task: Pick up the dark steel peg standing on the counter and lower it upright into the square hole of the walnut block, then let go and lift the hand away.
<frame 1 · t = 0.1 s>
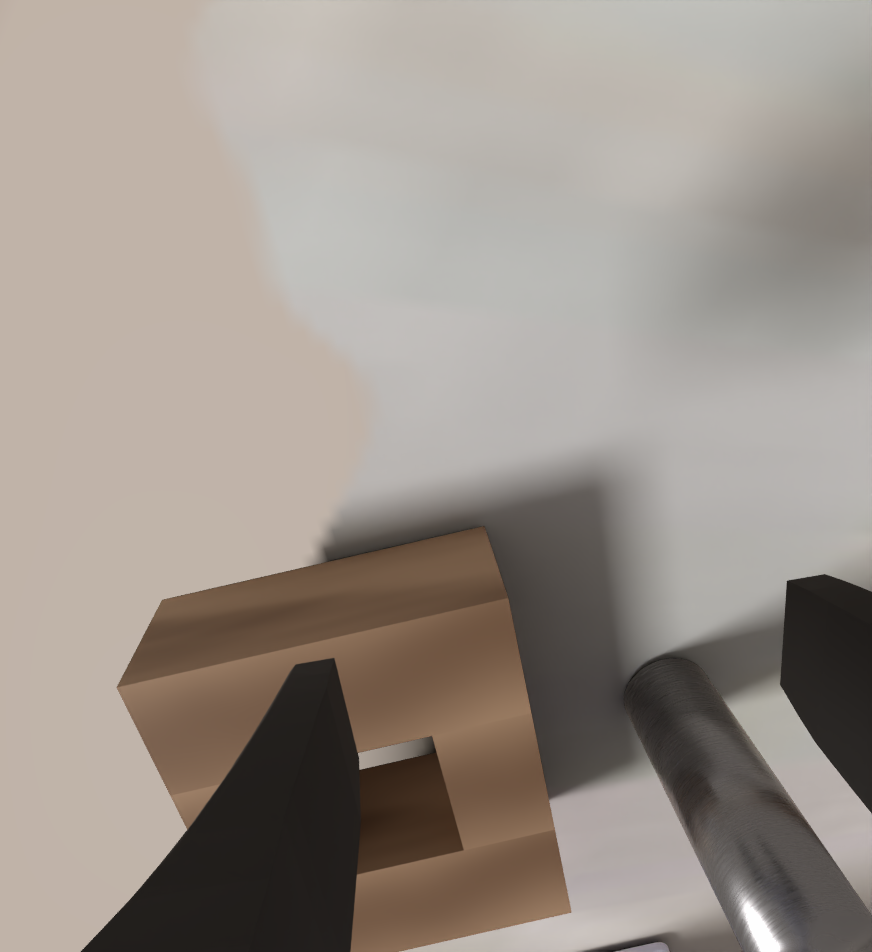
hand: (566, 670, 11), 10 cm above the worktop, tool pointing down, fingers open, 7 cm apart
peg: (666, 693, 24), on the worktop
hole block: (371, 714, 23), on the worktop
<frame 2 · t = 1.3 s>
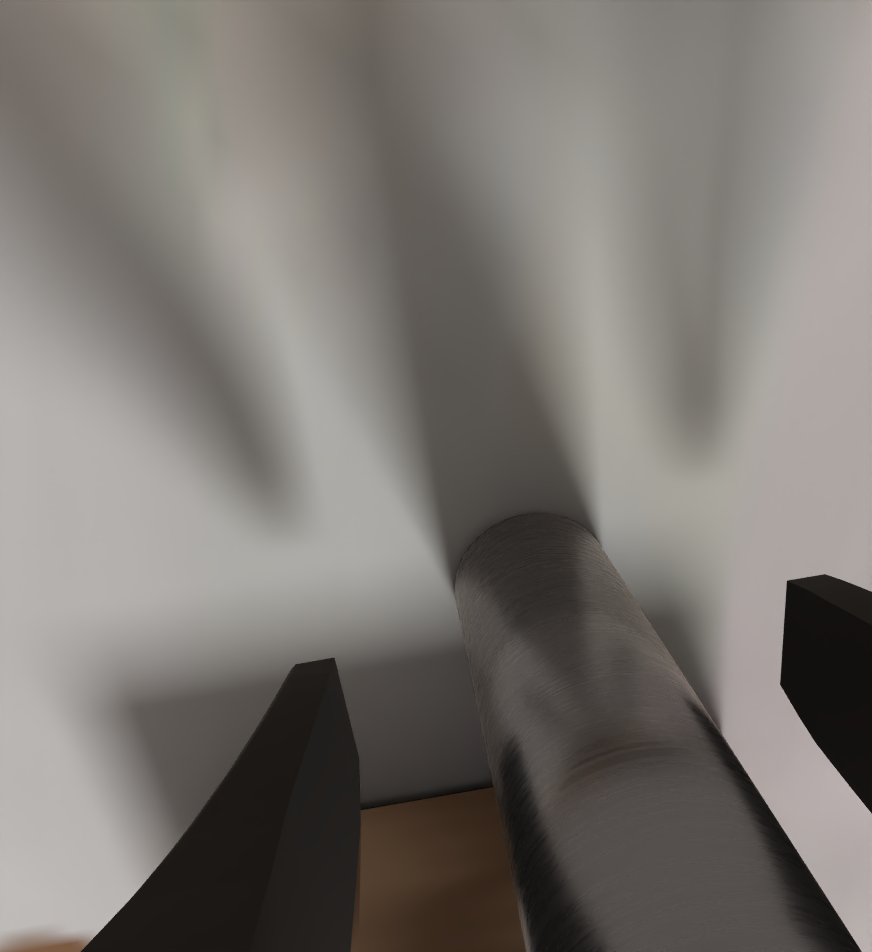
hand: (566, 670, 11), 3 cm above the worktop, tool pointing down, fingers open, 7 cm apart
peg: (531, 583, 13), on the worktop
hole block: (488, 940, 17), on the worktop
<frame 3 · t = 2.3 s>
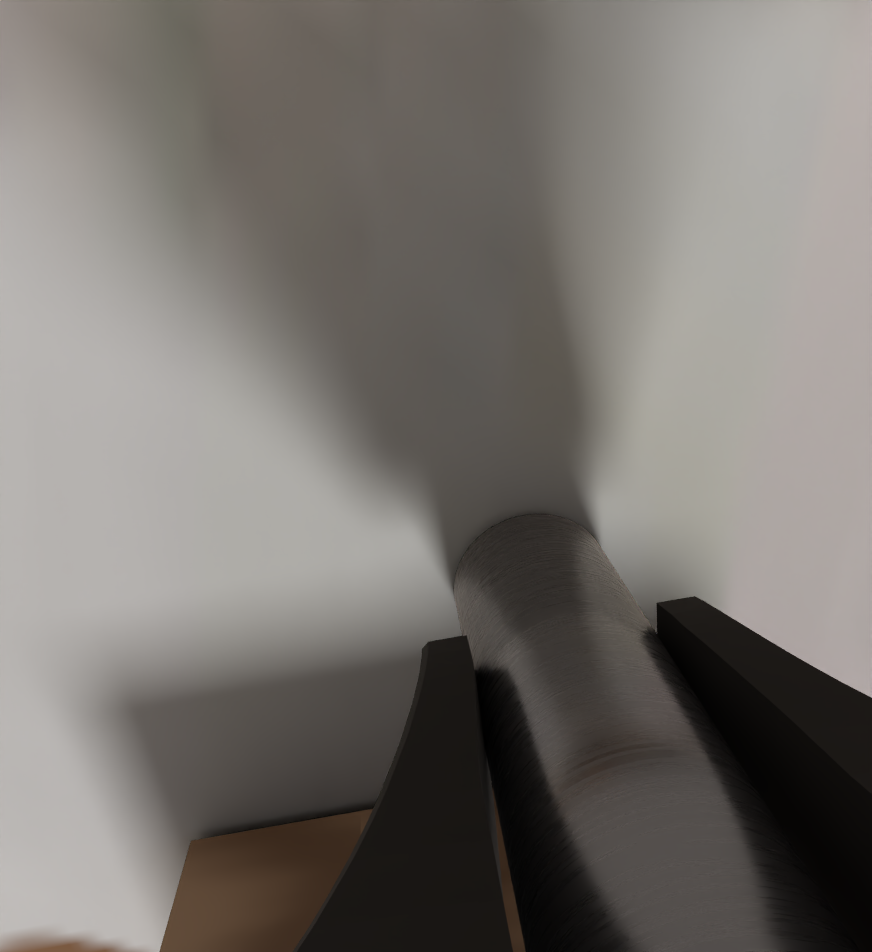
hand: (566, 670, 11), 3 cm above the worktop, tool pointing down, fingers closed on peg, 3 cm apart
peg: (531, 584, 13), on the worktop, touching gripper
hole block: (487, 941, 17), on the worktop
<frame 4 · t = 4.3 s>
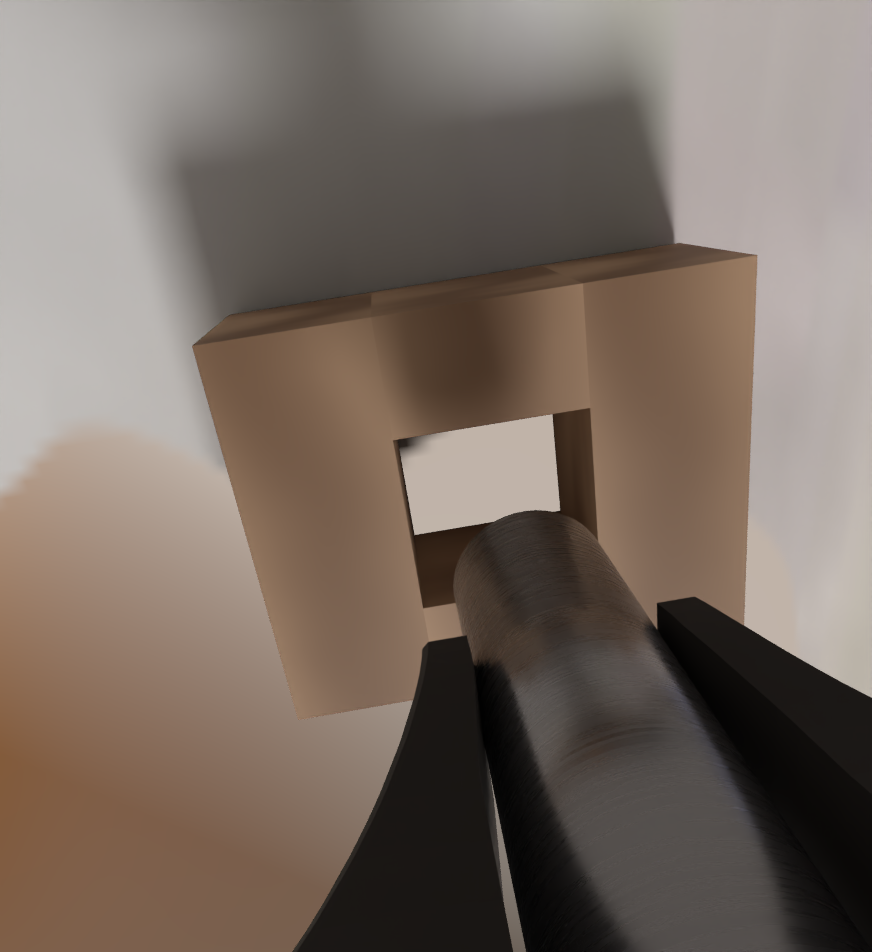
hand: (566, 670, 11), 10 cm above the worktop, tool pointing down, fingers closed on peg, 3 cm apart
peg: (530, 581, 13), point 7 cm above the worktop, touching gripper
hole block: (478, 454, 20), on the worktop
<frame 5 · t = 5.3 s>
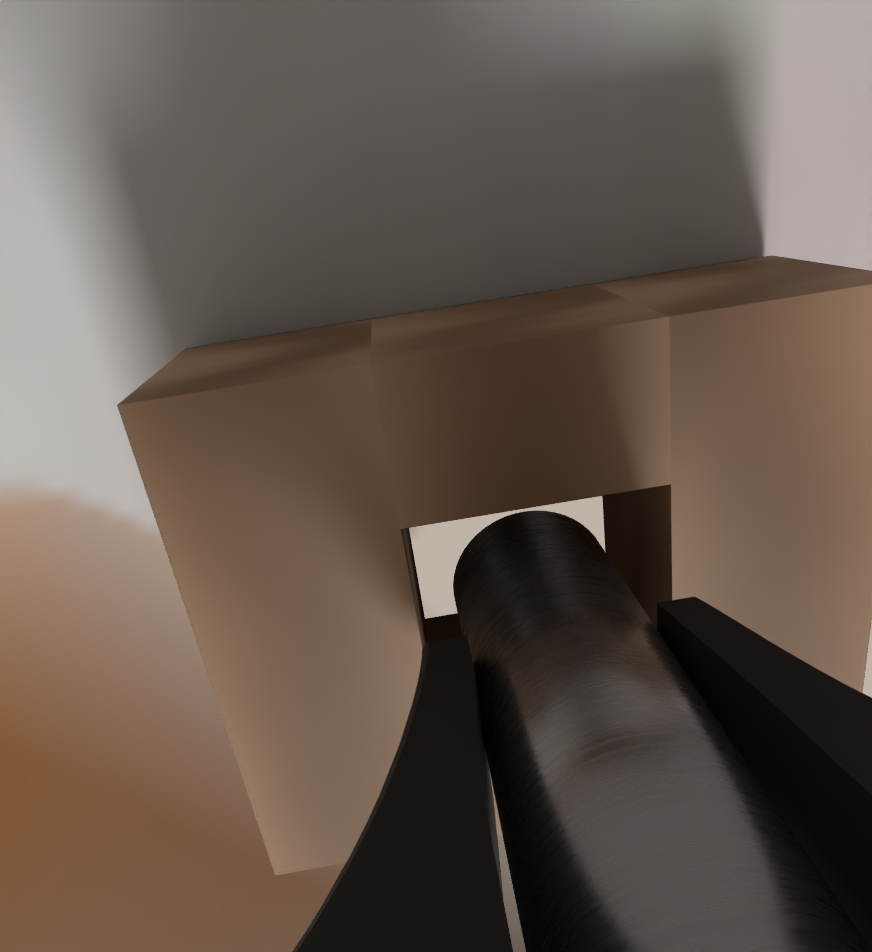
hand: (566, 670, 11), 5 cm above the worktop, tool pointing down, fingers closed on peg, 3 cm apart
peg: (530, 581, 13), point 3 cm above the worktop, touching gripper
hole block: (507, 521, 16), on the worktop
when the fingers open (5 cm above the worktop, at t = 6.2 s): peg drops 2 cm, resting in hole block.
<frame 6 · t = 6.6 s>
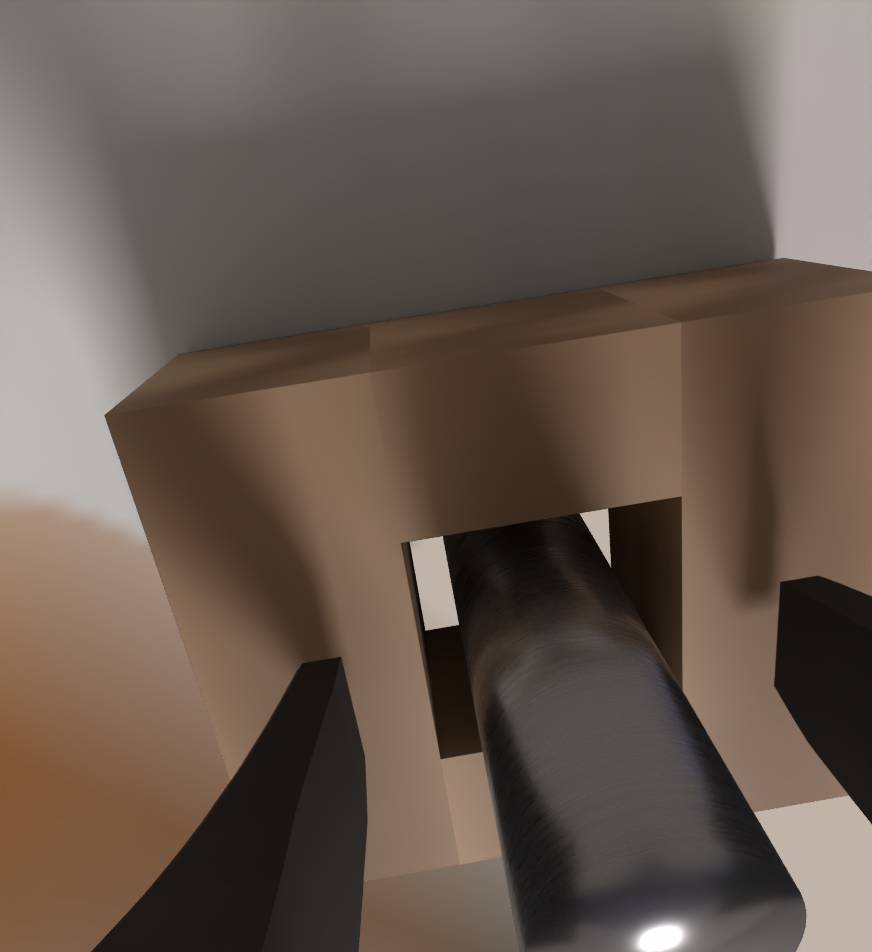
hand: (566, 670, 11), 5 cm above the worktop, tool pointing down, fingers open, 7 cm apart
peg: (510, 529, 15), resting in hole block
hole block: (509, 530, 15), on the worktop
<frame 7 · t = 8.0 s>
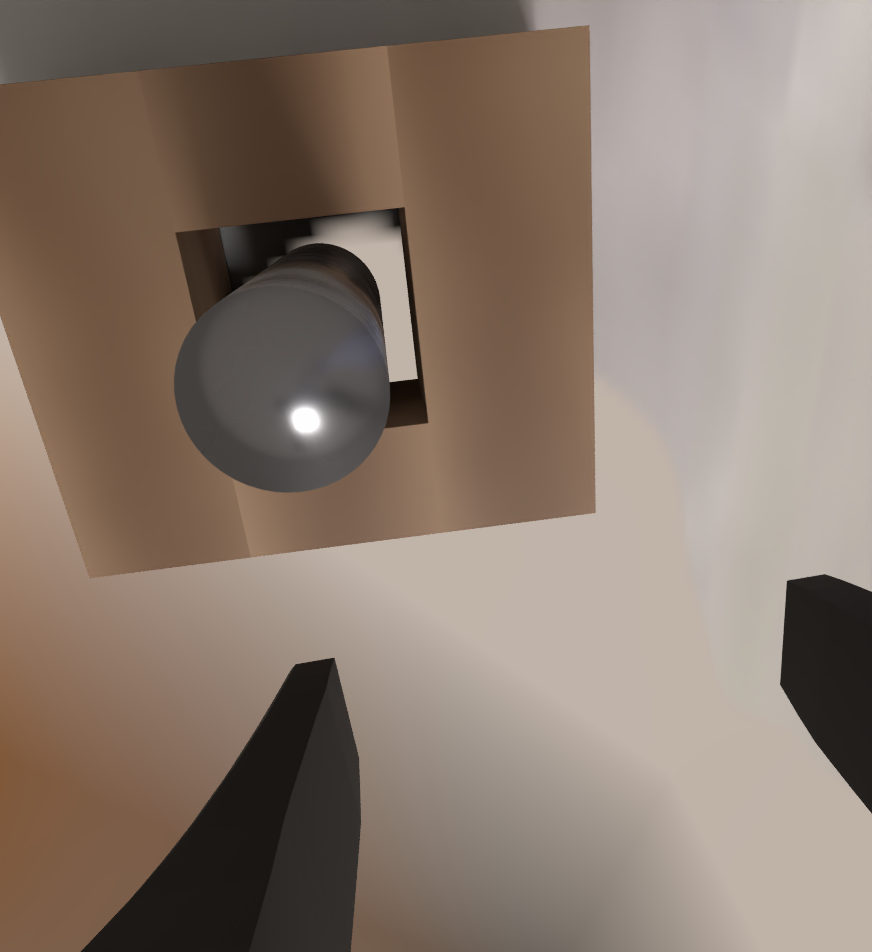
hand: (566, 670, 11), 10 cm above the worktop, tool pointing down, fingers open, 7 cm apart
peg: (322, 303, 18), resting in hole block
hole block: (323, 305, 18), on the worktop
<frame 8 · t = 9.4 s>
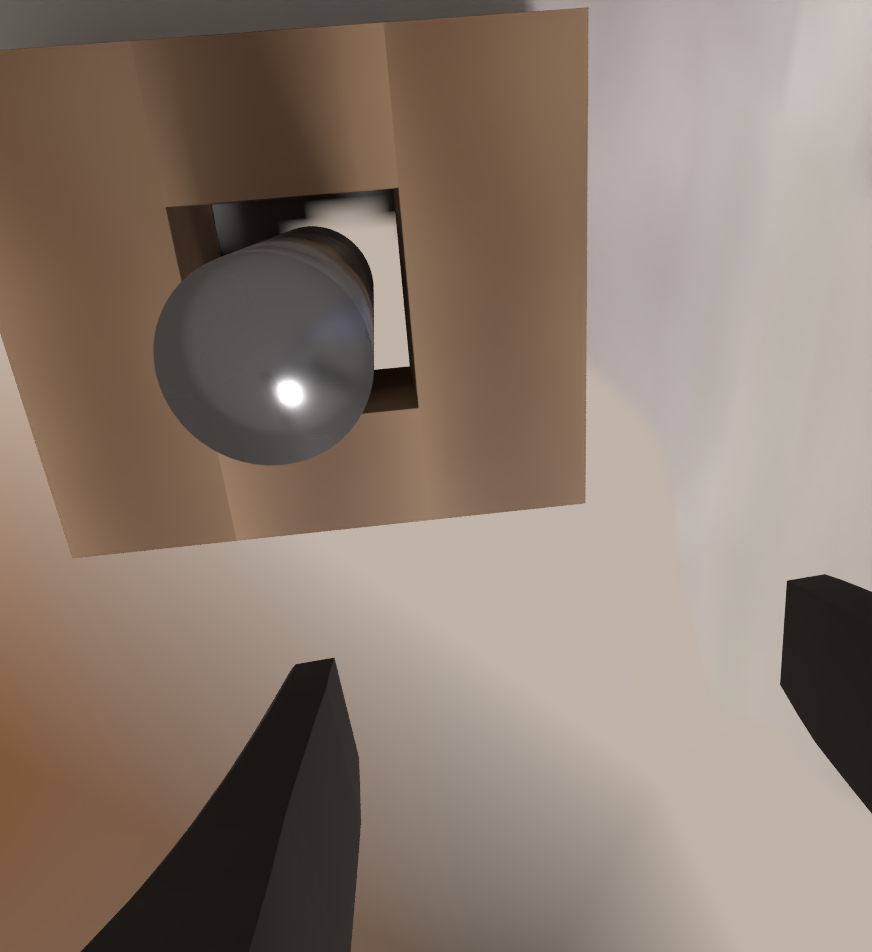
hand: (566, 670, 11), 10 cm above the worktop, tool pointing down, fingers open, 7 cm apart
peg: (315, 287, 18), resting in hole block
hole block: (315, 289, 18), on the worktop
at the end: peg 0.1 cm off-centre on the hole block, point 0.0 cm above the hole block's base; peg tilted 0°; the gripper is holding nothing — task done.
